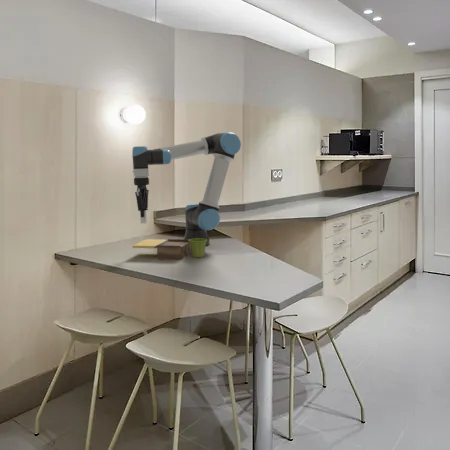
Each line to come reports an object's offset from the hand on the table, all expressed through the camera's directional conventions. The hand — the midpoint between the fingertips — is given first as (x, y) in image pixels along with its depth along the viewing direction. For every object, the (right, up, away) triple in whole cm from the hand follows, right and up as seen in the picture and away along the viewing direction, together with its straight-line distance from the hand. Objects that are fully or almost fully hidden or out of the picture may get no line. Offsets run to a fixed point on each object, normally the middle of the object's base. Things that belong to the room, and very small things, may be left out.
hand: (143, 223), depth 256 cm
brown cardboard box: (+16, -17, -1) cm, 23 cm away
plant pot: (+28, -17, -4) cm, 33 cm away
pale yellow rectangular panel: (+9, -11, -1) cm, 14 cm away
